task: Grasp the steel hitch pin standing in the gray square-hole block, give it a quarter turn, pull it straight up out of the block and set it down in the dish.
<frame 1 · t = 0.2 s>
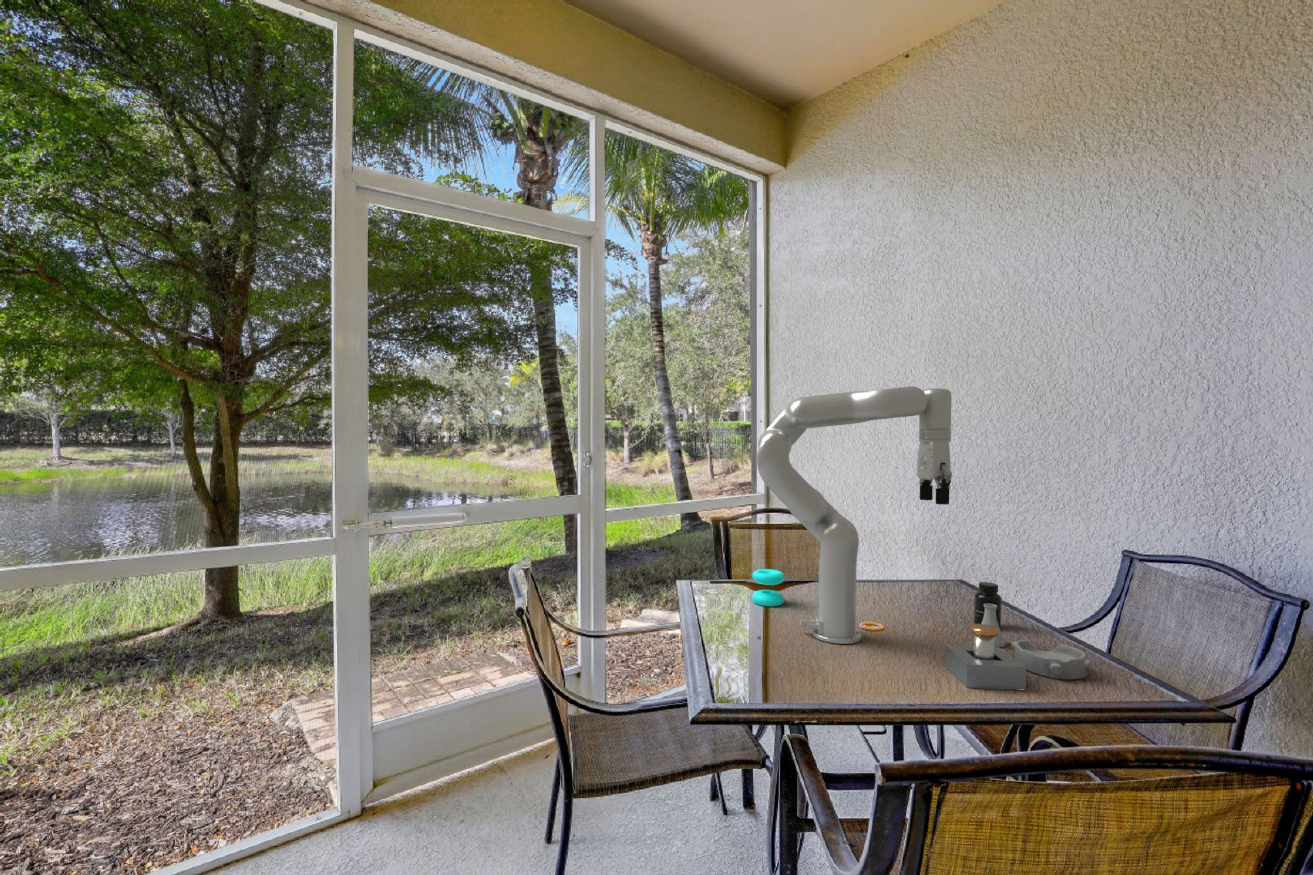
hand: (933, 502, 158), 36 cm above the table, tool pointing down, fingers open, 9 cm apart
supplement bottle: (987, 626, 172), on the table
dish: (1050, 671, 140), on the table
flask: (989, 644, 158), on the table
donuts: (767, 603, 192), on the table
gray square-hole block: (983, 677, 135), on the table
pin: (983, 652, 135), in the gray square-hole block
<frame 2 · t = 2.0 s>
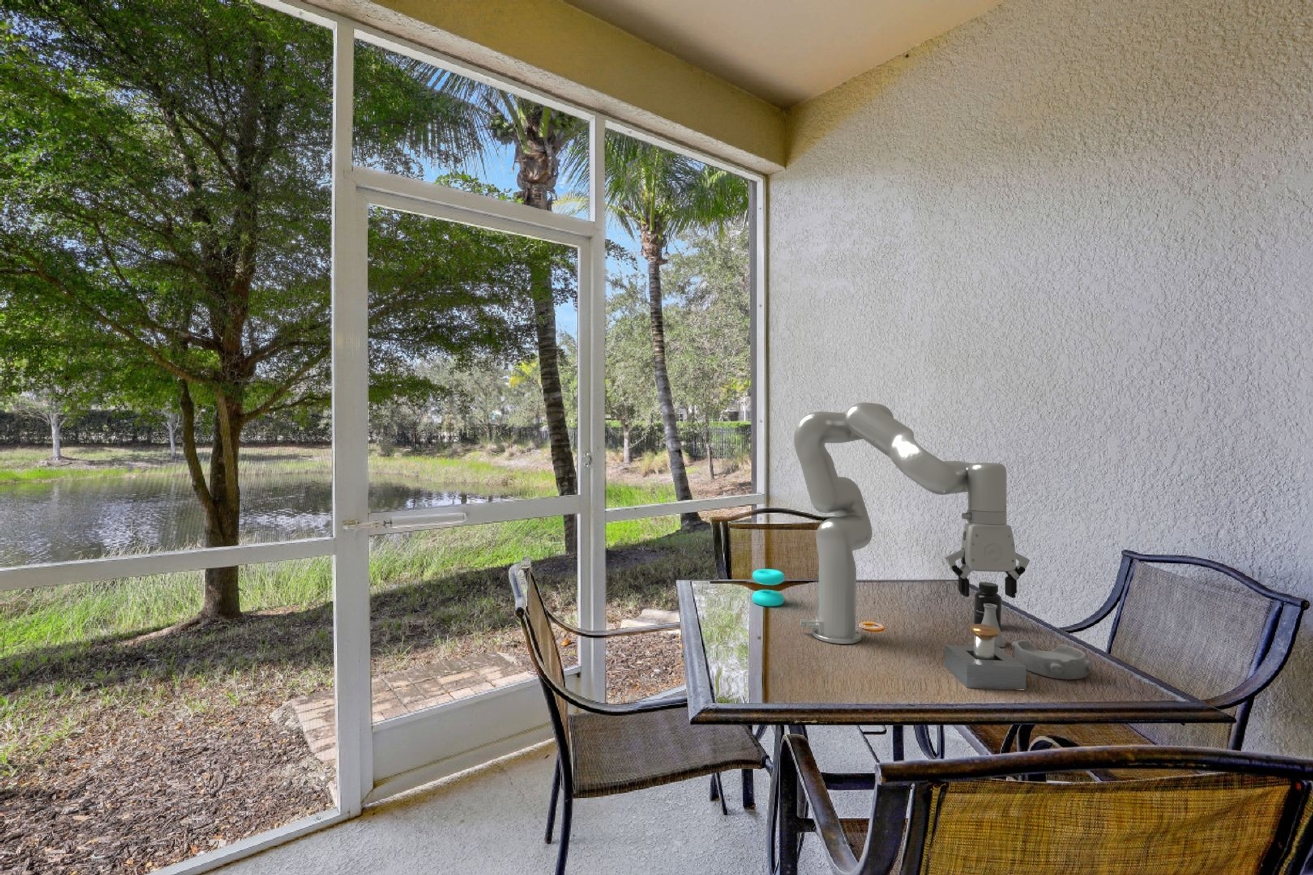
hand: (987, 595, 134), 18 cm above the table, tool pointing down, fingers open, 9 cm apart
nothing on the table moved.
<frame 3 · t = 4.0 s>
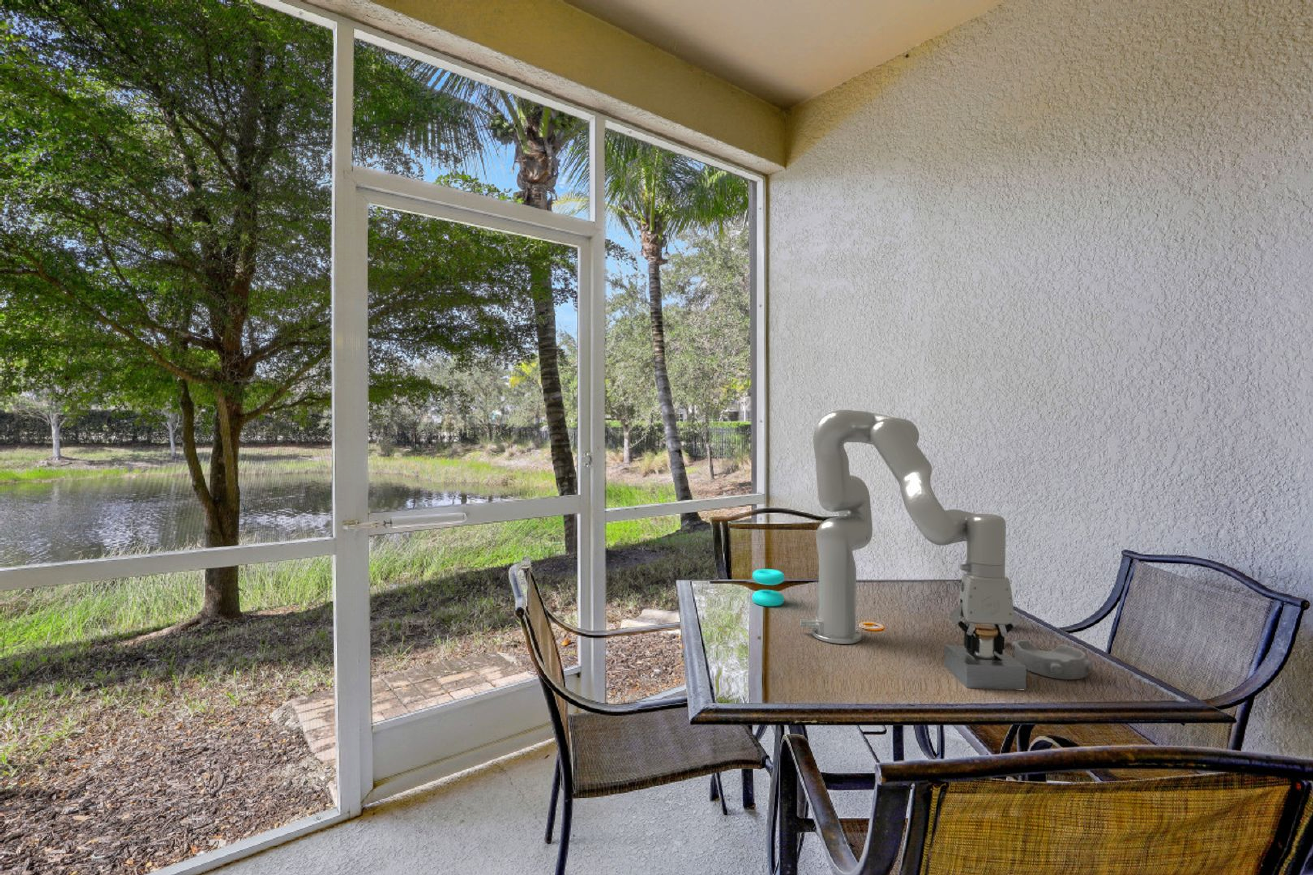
hand: (983, 651, 135), 6 cm above the table, tool pointing down, fingers closed on pin, 5 cm apart
pin: (983, 652, 135), in the gray square-hole block, touching gripper
everything else where it was.
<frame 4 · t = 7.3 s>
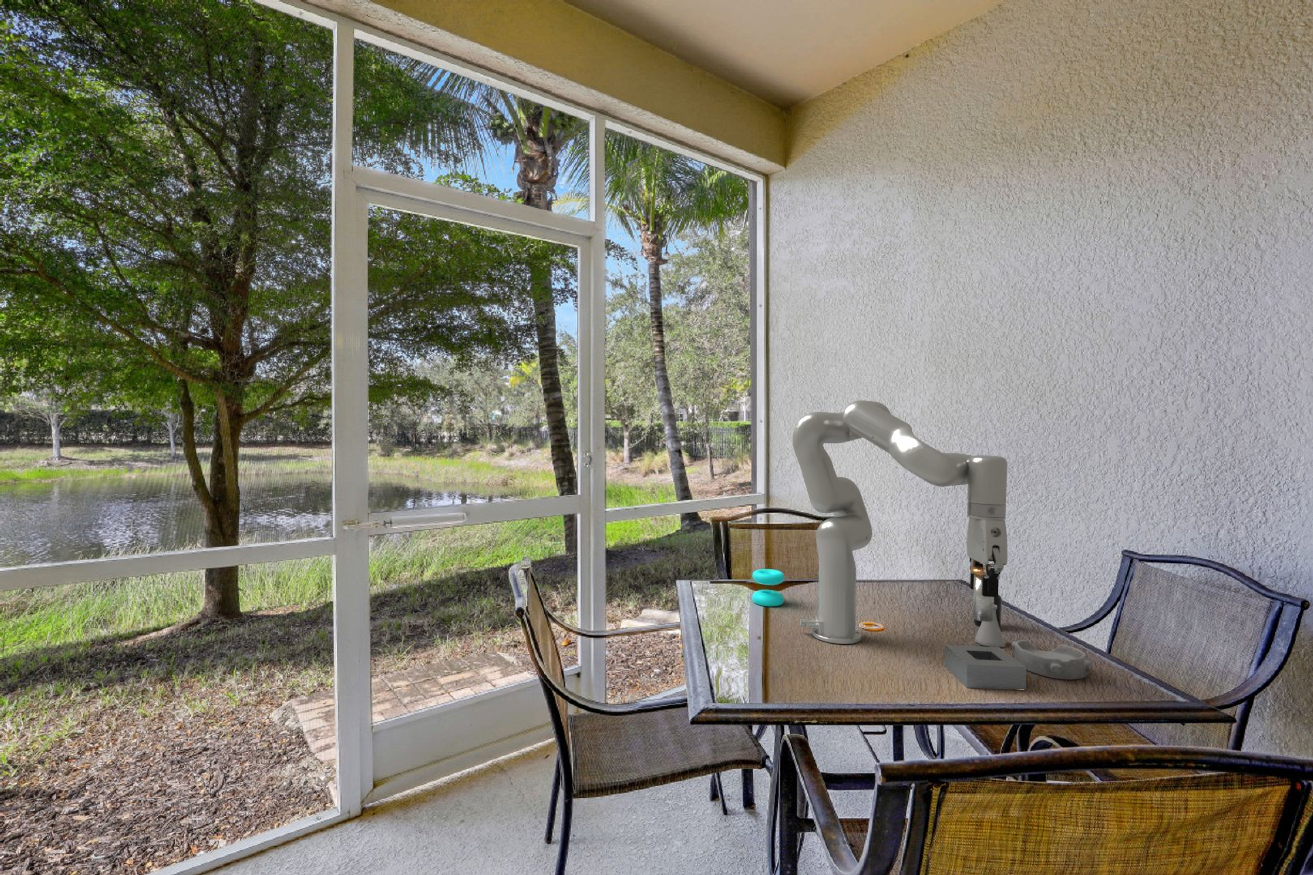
hand: (983, 591, 135), 19 cm above the table, tool pointing down, fingers closed on pin, 5 cm apart
pin: (983, 593, 135), point 19 cm above the table, touching gripper
everything else where it was.
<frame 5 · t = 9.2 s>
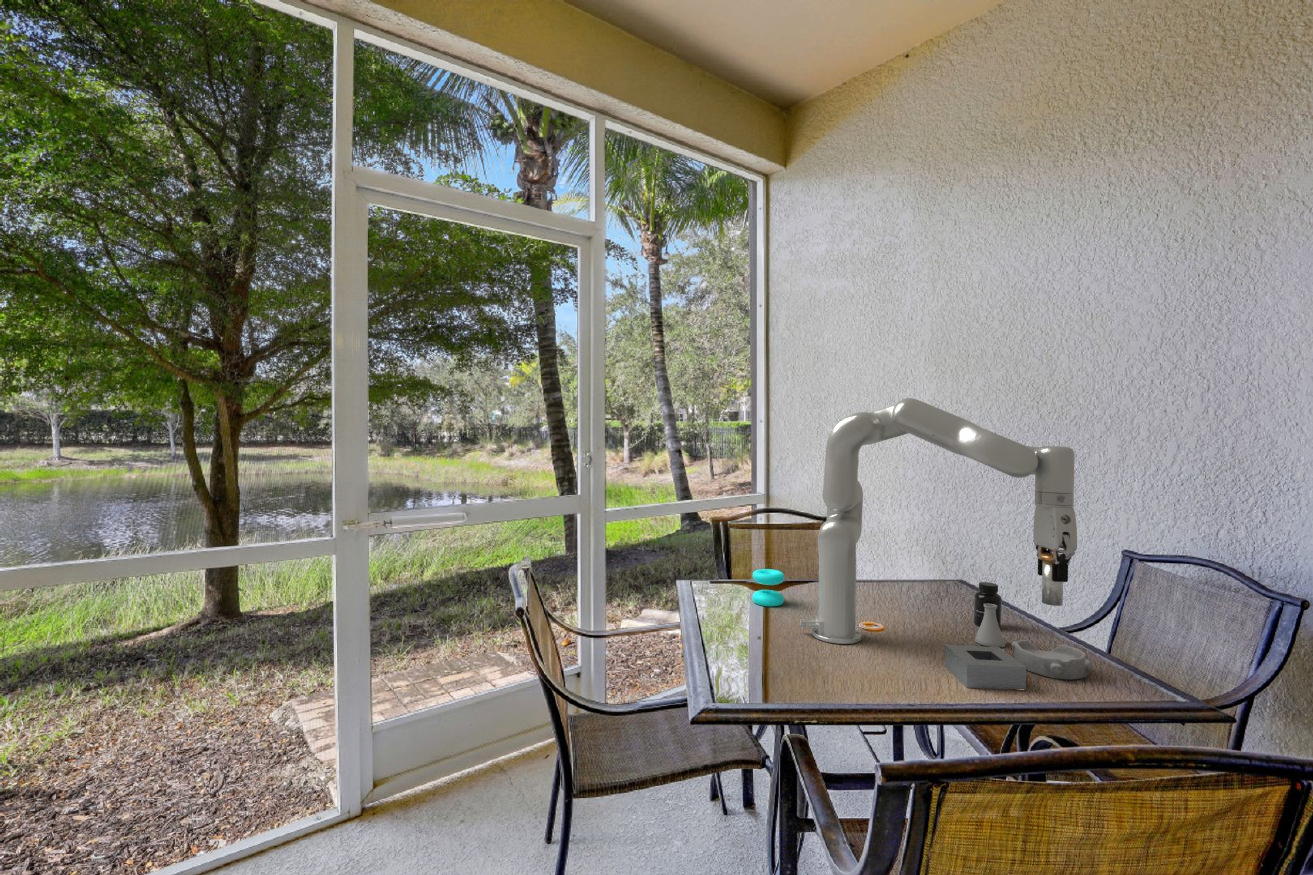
hand: (1052, 577, 140), 21 cm above the table, tool pointing down, fingers closed on pin, 5 cm apart
pin: (1052, 579, 140), point 21 cm above the table, touching gripper
everything else where it was.
when the fingers open (10 cm above the table, at t = 10.8 s): pin stays where it is, resting on dish.
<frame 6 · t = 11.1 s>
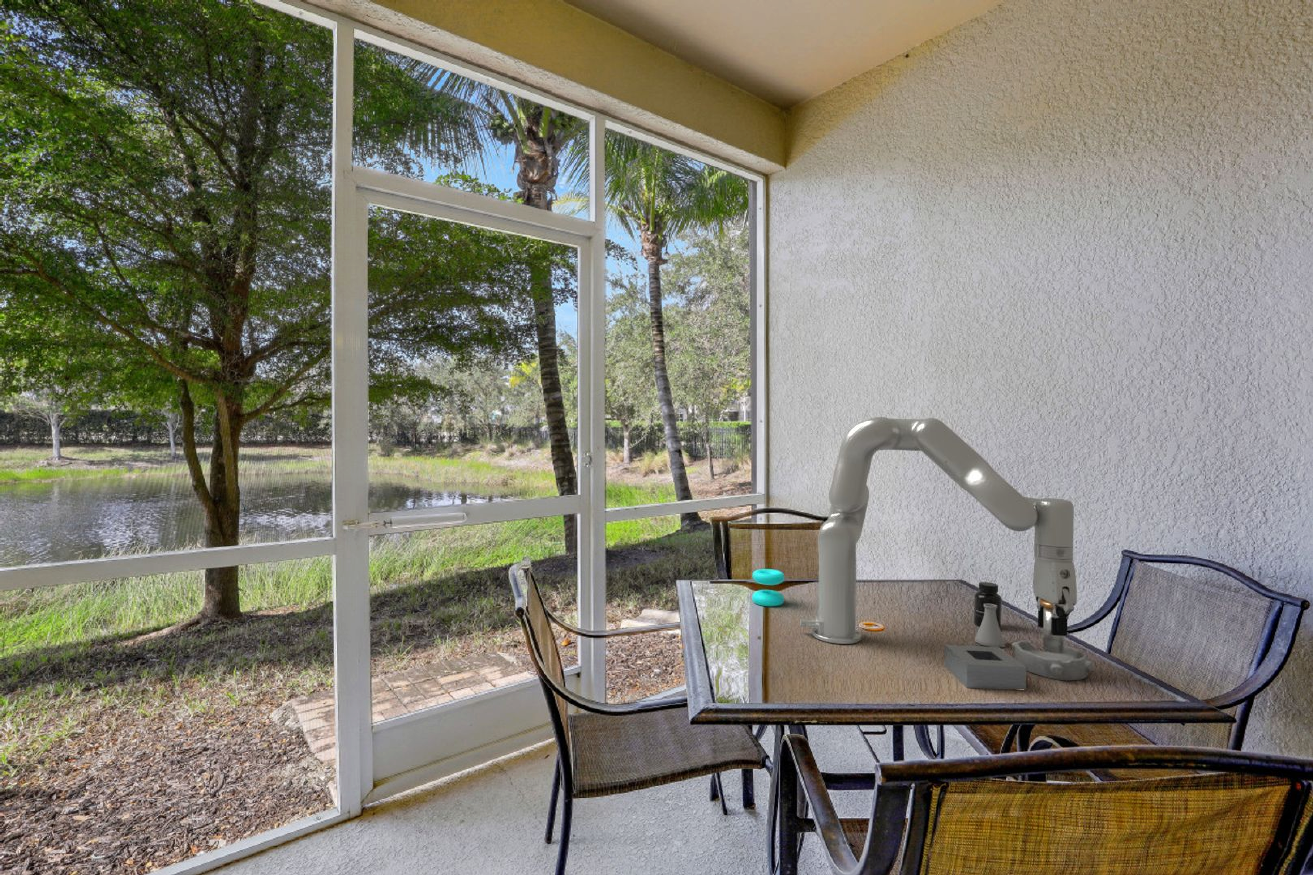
hand: (1052, 630, 140), 9 cm above the table, tool pointing down, fingers open, 4 cm apart
dish: (1051, 672, 140), on the table, touching pin
pin: (1053, 625, 140), point 10 cm above the table, touching dish, gripper
everything else where it was.
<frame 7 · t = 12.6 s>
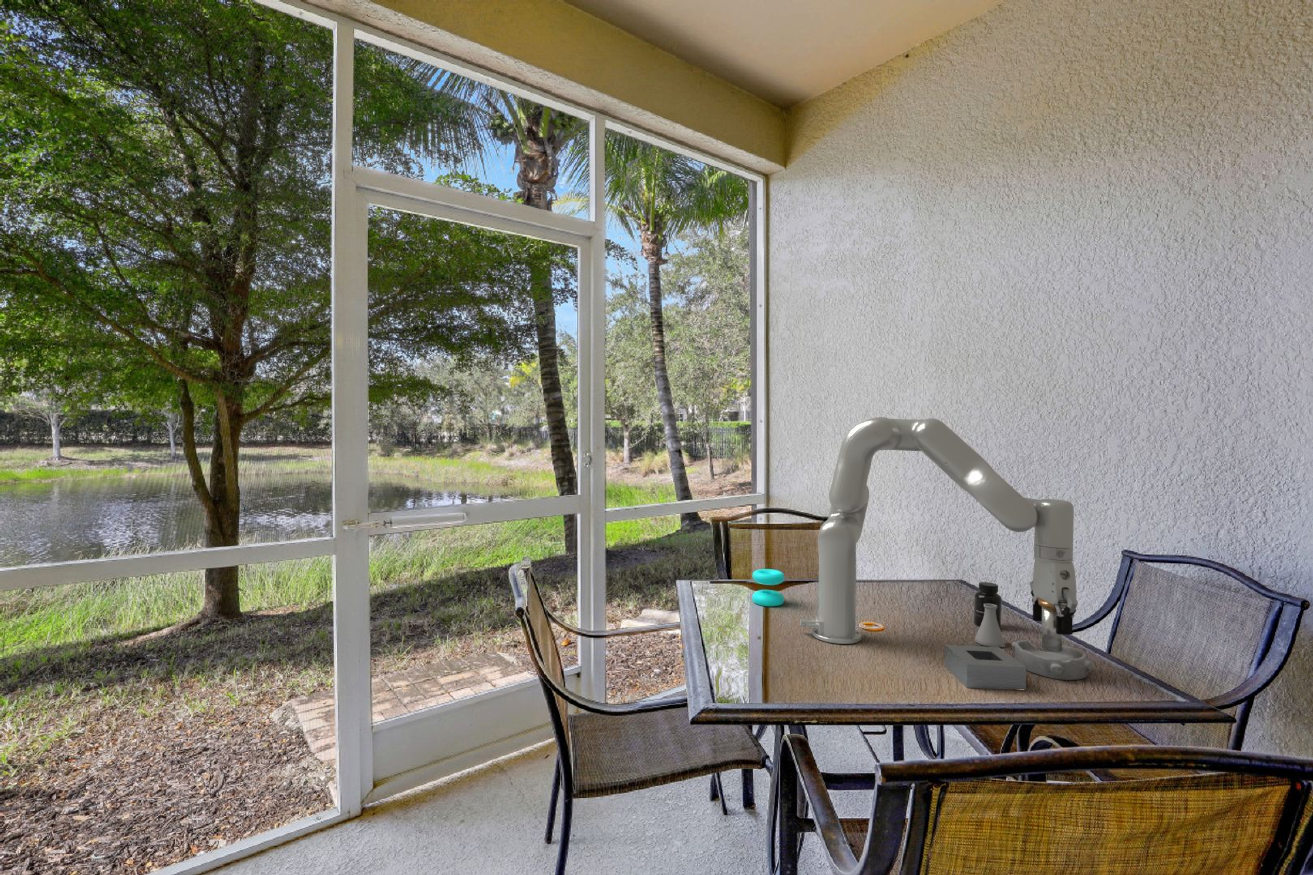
hand: (1051, 627, 140), 10 cm above the table, tool pointing down, fingers open, 9 cm apart
pin: (1052, 624, 140), point 10 cm above the table, touching dish
everything else where it was.
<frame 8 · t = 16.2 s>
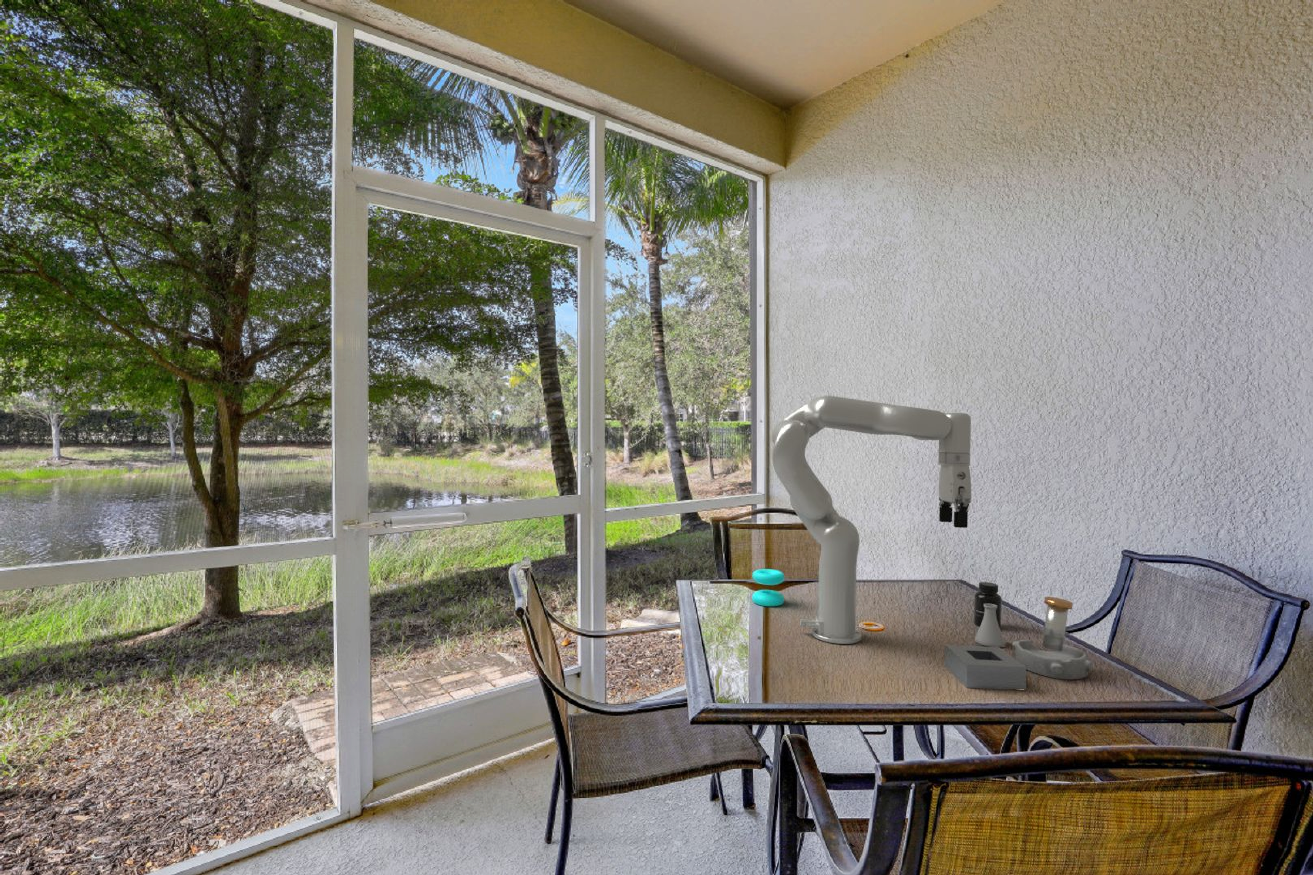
hand: (952, 524, 160), 30 cm above the table, tool pointing down, fingers open, 9 cm apart
at the end: pin inside the target area in the dish (0.3 cm from its centre), point 11.0 cm above the dish's base; pin touching dish; the gripper is holding nothing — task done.
